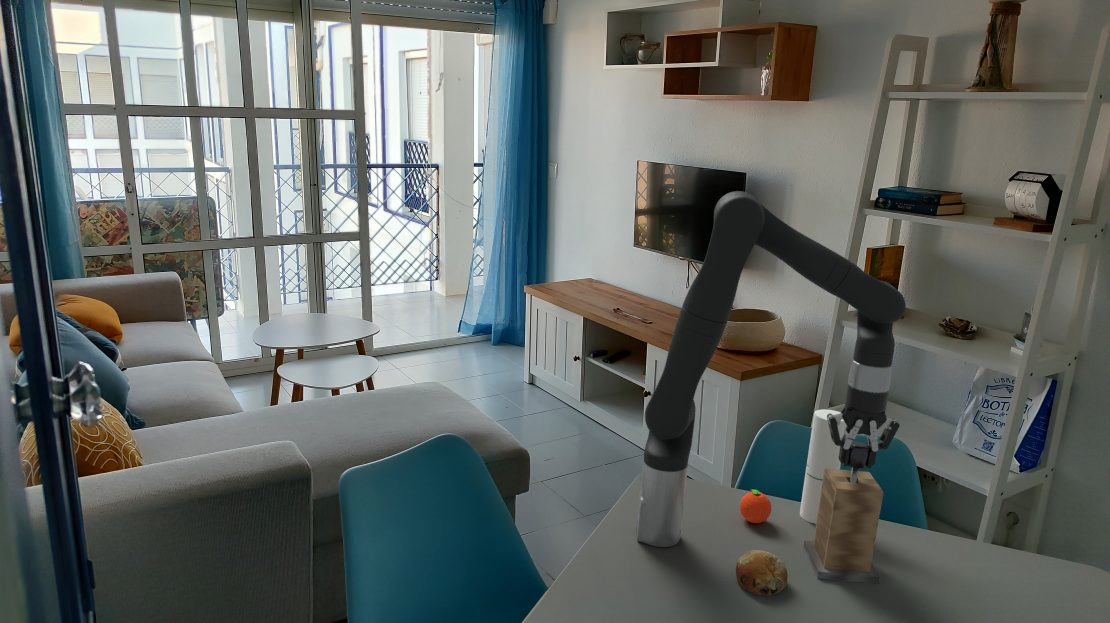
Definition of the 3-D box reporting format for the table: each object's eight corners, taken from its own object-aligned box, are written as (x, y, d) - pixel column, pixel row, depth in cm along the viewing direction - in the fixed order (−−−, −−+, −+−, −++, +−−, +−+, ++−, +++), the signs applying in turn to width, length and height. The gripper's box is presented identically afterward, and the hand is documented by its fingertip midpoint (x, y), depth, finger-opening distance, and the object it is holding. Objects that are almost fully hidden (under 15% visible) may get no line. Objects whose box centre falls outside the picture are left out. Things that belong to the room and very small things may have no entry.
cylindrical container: (827, 510, 187) (843, 410, 181) (835, 526, 180) (851, 422, 174) (796, 507, 188) (811, 408, 182) (802, 522, 181) (818, 419, 175)
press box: (817, 578, 159) (830, 491, 155) (803, 546, 171) (815, 464, 166) (878, 583, 159) (894, 496, 154) (860, 551, 170) (874, 469, 166)
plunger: (828, 561, 161) (845, 451, 155) (819, 542, 168) (836, 437, 162) (864, 564, 160) (882, 454, 155) (853, 545, 167) (871, 439, 161)
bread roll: (784, 596, 159) (790, 555, 160) (784, 602, 149) (790, 558, 151) (734, 584, 162) (740, 544, 164) (731, 589, 153) (737, 546, 154)
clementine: (732, 511, 184) (735, 483, 183) (761, 511, 185) (765, 483, 183) (744, 529, 177) (747, 499, 175) (774, 529, 178) (778, 499, 176)
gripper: (836, 388, 152) (824, 471, 156) (913, 393, 151) (898, 476, 155) (826, 375, 159) (814, 455, 163) (899, 380, 158) (885, 460, 163)
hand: (855, 465), depth 159 cm, fingers closed on plunger, 4 cm apart
